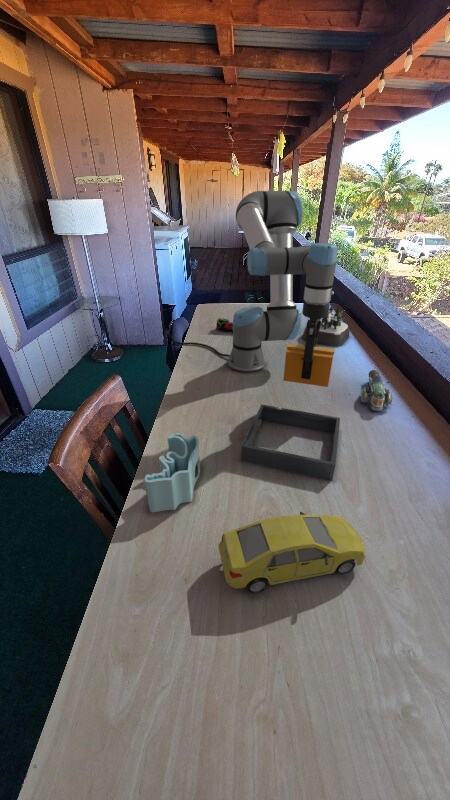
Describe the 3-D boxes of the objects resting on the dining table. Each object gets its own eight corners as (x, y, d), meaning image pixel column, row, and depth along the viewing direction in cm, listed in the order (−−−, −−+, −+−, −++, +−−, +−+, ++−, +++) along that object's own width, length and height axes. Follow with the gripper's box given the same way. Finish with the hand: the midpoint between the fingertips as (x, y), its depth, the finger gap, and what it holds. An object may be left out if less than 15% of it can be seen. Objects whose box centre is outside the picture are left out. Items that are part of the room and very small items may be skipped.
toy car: (372, 576, 66) (385, 542, 61) (229, 608, 61) (229, 574, 56) (341, 525, 76) (350, 492, 71) (216, 549, 71) (215, 516, 66)
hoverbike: (360, 410, 116) (365, 389, 112) (358, 377, 136) (362, 358, 132) (391, 415, 114) (398, 393, 109) (384, 380, 134) (390, 361, 130)
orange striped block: (282, 380, 113) (285, 349, 107) (286, 370, 119) (289, 340, 113) (328, 387, 109) (334, 355, 103) (330, 376, 115) (335, 346, 109)
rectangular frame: (241, 460, 95) (241, 445, 92) (260, 417, 113) (261, 404, 110) (332, 480, 88) (335, 465, 86) (337, 431, 106) (340, 417, 104)
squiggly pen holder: (190, 515, 79) (188, 484, 74) (148, 511, 80) (142, 481, 75) (202, 462, 94) (201, 434, 90) (166, 459, 95) (163, 432, 90)
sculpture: (273, 329, 171) (216, 320, 178) (272, 339, 173) (215, 329, 181) (276, 326, 179) (221, 317, 186) (275, 335, 181) (220, 326, 188)
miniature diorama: (351, 335, 176) (358, 301, 168) (339, 348, 162) (346, 311, 153) (313, 327, 186) (318, 295, 177) (299, 339, 171) (303, 304, 162)
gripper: (327, 313, 92) (315, 389, 103) (332, 294, 108) (322, 361, 120) (298, 310, 94) (290, 385, 106) (308, 292, 110) (300, 359, 122)
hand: (307, 372), depth 113 cm, fingers closed on orange striped block, 7 cm apart
